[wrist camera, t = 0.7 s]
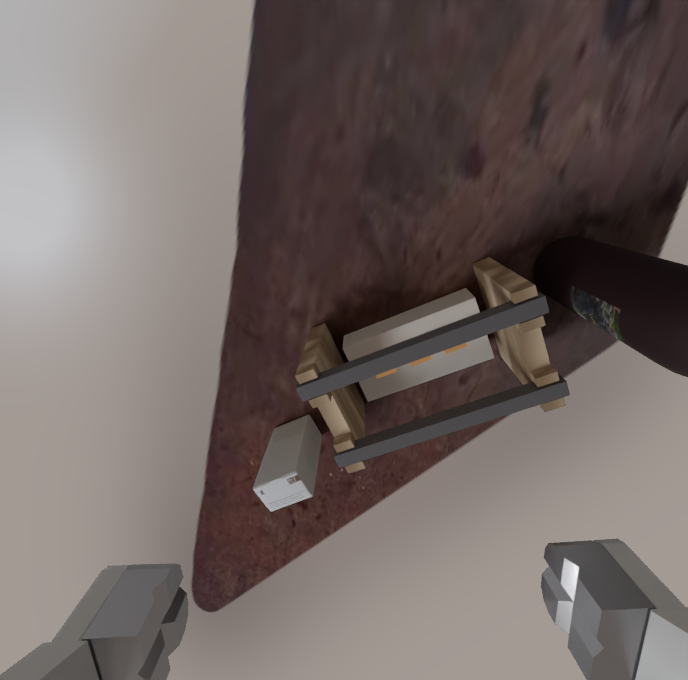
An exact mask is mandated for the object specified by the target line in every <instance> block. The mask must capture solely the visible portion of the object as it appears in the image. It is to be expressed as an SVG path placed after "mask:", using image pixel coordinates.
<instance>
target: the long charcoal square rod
mask: <svg viewBox="0 0 688 680" xmlns="http://www.w3.org/2000/svg"><path fill="white" fill-rule="evenodd" d="M537 294H538V296H535V297H532V298H530V299H527V300H524V301H522V302H519V303H516V304H514V303H513V302H511V301H509V302H506V303H504V304H501V305H498V306H496V307H493V308H490V309H488V310H485V311H482V312H480V313H477V314H474V315H472V316H469V317H466V318H464V319H461V320H458V321H456V322H453V323H450V324H448V325H445V326H442V327H440V328H437V329H434V330H432V331H429V332H426V333H424V334H421V335H418V336H416V337H413V338H410V339H408V340H405V341H402V342H400V343H397V344H395V345H392V346H389V347H387V348H384V349H381V350H379V351H376V352H373V353H371V354H368V355H365V356H363V357H360V358H357V359H355V360H352V361H349V362H347V363H344V364H341V365H339V366H336V367H333V368H331V369H328V370H325V371H323V372H320V373H319V375H318V378H315V379H313V380H310V381H307V382H305V383H302V384H299V382H298V383H297V386H296V390H297V392H298V394H299V396H300V398H301V399H302V401H306V400H309V399H312V398H314V397H317V396H320V395H323V394H325V393H328V392H331V391H334V390H336V389H339V388H342V387H345V386H347V385H350V384H353V383H356V382H358V381H361V380H364V379H367V378H370V377H372V376H375V375H378V374H381V373H383V372H386V371H389V370H392V369H394V368H397V367H400V366H403V365H405V364H408V363H411V362H414V361H416V360H419V359H422V358H425V357H427V356H430V355H433V354H436V353H439V352H441V351H444V350H447V349H450V348H452V347H455V346H458V345H461V344H463V343H466V342H469V341H472V340H474V339H477V338H480V337H483V336H485V335H488V334H491V333H494V332H496V331H499V330H502V329H505V328H508V327H510V326H513V325H516V324H519V323H521V322H524V321H527V320H530V319H532V318H535V317H538V316H541V315H543V314H546V313H549V308H548V304H547V300H546V296H545V295H543V294H542V293H540V292H538V291H537Z"/></svg>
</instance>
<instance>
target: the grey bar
mask: <svg viewBox="0 0 688 680" xmlns="http://www.w3.org/2000/svg"><path fill="white" fill-rule="evenodd" d="M558 376H559V381H556V382H553V383H550V384H547V385H544V386H541V387H537V386H536V384H535V383H534V382H530V383H527V384H524V385H521V386H518V387H515V388H512V389H509V390H506V391H503V392H500V393H497V394H494V395H491V396H488V397H485V398H482V399H479V400H476V401H473V402H470V403H467V404H464V405H461V406H458V407H455V408H452V409H448V410H445V411H442V412H439V413H436V414H433V415H430V416H427V417H424V418H421V419H418V420H415V421H412V422H409V423H406V424H403V425H400V426H397V427H394V428H391V429H388V430H385V431H382V432H379V433H376V434H373V435H370V436H367V437H364V438H361V439H358V440H355V447H354V448H351V449H348V450H345V451H341V452H338V453H337V452H336V450H335V448H334V459H335V461H336V462H337V464H338V466H339V468H341V467H344V466H348V465H351V464H354V463H357V462H360V461H363V460H366V459H370V458H373V457H376V456H379V455H382V454H385V453H389V452H392V451H395V450H398V449H401V448H404V447H407V446H411V445H414V444H417V443H420V442H423V441H426V440H430V439H433V438H436V437H439V436H442V435H445V434H448V433H452V432H455V431H458V430H461V429H464V428H467V427H471V426H474V425H477V424H480V423H483V422H486V421H489V420H493V419H496V418H499V417H502V416H505V415H508V414H512V413H515V412H518V411H521V410H524V409H527V408H530V407H534V406H537V405H540V404H543V403H546V402H549V401H552V400H556V399H559V398H562V397H565V396H568V395H569V390H568V386H567V382H566V380H565V379H564V378H563V377H562V376H560V375H559V374H558Z"/></svg>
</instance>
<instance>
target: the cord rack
mask: <svg viewBox="0 0 688 680" xmlns="http://www.w3.org/2000/svg"><path fill="white" fill-rule="evenodd" d="M472 265H473V268H474V271H475V275H476V278H477V281H478V284H479V287H480V291H481V294H482V297H483V300H484V303H485V307H486V310H488V309H490V308H493V307H496V306H498V305H501V304H504V303H506V302H509V301H511V302H513V303H514V304H516V303H519V302H522V301H524V300H527V299H530V298H532V297H535V296H538V294H537V290H536V286H535V284H533V283H531V282H530V281H528V280H526V279H525V278H523V277H521V276H520V275H518V274H516V273H515V272H513V271H511V270H510V269H508V268H506V267H505V266H503V265H501V264H500V263H498V262H497V261H495V260H493V259H492V258H490V257H488V258H485V259H483V260H480V261H478V262H475V263H473V264H472ZM543 326H546V325H545V321H544V317H543V315H541V316H538V317H535V318H532V319H530V320H527V321H524V322H521V323H519V324H516V325H513V326H510V327H508V328H505V329H502V330H499V331H496V332H494V336H495V339H496V342H497V345H498V348H499V352H500V355H501V357H502V358H503V360H504V361H505V362H506V363H507V365H508V366H509V367H510V369H511V370H512V371H513V372H514V374H515V375H516V376H517V377H518V379H519V380H520V381H521V382H522V384H523V385H524V384H527V383H530V382H534V383H535V384H536V386H537V387H541V386H544V385H547V384H550V383H553V382H556V381H559V376H558V372H557V371H556V370H555V369H554V368H553V367H552V366H551V365H550V362H549V358H548V354H547V350H546V346H545V342H544V338H543V335H542V331H541V327H543ZM341 364H344V361H343V359H342V357H341V355H340V352H339V350H338V348H337V346H336V344H335V342H334V340H333V338H332V336H331V334H330V332H329V330H328V328H327V326H326V324H325V323H324V324H321V325H319V326H316V327H314V328H311V330H310V333H309V336H308V339H307V342H306V345H305V348H304V351H303V354H302V357H301V360H300V363H299V366H298V369H297V372H296V374H295V377H296V379H297V381H298V382H299V384H302V383H305V382H307V381H310V380H313V379H315V378H318V375H319V373H320V372H323V371H325V370H328V369H331V368H333V367H336V366H339V365H341ZM308 401H309V403H310V404H311V406H312V408H315V407H318V409H319V410H320V412H321V414H322V416H323V418H324V420H325V421H326V423H327V425H328V427H329V429H330V431H331V433H332V434H333V436H334V444H333V446H334V448H335V450H336V452H337V453H338V452H341V451H345V450H348V449H351V448H354V447H355V440H358V439H361V438H364V437H365V404H364V402H363V400H362V398H361V396H360V394H359V392H358V390H357V387H356V385H355V383H353V384H350V385H347V386H345V387H342V388H339V389H336V390H334V391H331V392H328V393H325V394H323V395H320V396H317V397H314V398H312V399H309V400H308ZM565 405H566V404H565V400H564V397H562V398H559V399H556V400H552V401H549V402H546V403H543V404H540V406H541V408H542V409H543V410H544V412H547V411H550V410H553V409H556V408H559V407H563V406H565ZM345 468H346V470H347V472H348V473H351V472H355V471H358V470H361V469H364V468H365V460H363V461H360V462H357V463H354V464H351V465H348V466H345Z"/></svg>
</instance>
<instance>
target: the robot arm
mask: <svg viewBox="0 0 688 680" xmlns="http://www.w3.org/2000/svg"><path fill="white" fill-rule="evenodd" d="M544 558H545V560H546V561H547V563H548V565H549V567H548V568H547V569H546V570H545V571H544V572H543V573H542V581H541V588H542V593H543V598H544V602H545V604H546V607H547V610H548V612H549V614H550V616H551V618H552V619H553V621H554V623H555V624H556V625H557V626H558V627H559V628H561V629H562V630H563V631H564V632H566V633H567V634H568V635H569V641H568V648H569V650H570V651H571V653H572V655H573V657H574V658H575V660H576V662H577V663H578V665H579V667H580V669H581V670H582V672H583V674H584V676H585V677H586V679H587V680H688V608H686V607H685V606H684V605H683V604H682V603H681V602H680V601H679V600H678V599H677V598H676V596H675V595H674V594H673V593H672V592H671V591H670V590H669V589H668V588H667V587H666V586H665V585H664V584H663V583H662V582H661V581H660V580H659V579H658V577H657V576H656V575H655V574H654V573H653V572H652V571H651V570H650V569H649V568H648V567H647V566H646V565H645V564H644V563H643V562H642V561H641V560H640V559H639V557H637V555H636V554H635V553H634V552H633V551H632V550H631V549H630V548H629V547H628V546H627V545H626V544H625V543H624V542H622V541H620V540H619V539H606V540H594V541H575V542H560V543H548V545H547V546H546V548H545V554H544ZM182 578H183V574H182V570H181V566H180V565H179V564H143V565H123V566H108V567H107V568H106V569H104V570H103V571H102V572H101V573H100V574H99V575H98V577H97V578H96V580H95V581H94V582H93V584H92V585H91V587H90V588H89V590H88V591H87V592H86V594H85V595H84V597H83V598H82V599H81V601H80V602H79V604H78V605H77V606H76V608H75V609H74V611H73V612H72V614H71V615H70V616H69V618H68V619H67V621H66V622H65V623H64V625H63V626H62V628H61V629H60V630H59V632H58V633H57V635H56V636H55V638H54V639H53V640H52V642H49V643H43V644H41V645H40V646H39V647H37V648H36V649H35V650H33V651H32V652H31V653H29V654H28V655H27V656H25V657H24V658H23V659H21V660H20V661H18V662H17V663H16V664H14V665H13V666H12V667H10V668H9V669H8V670H6V671H5V672H4V673H2V674H1V675H0V680H166V679H167V676H168V674H169V671H170V665H169V660H168V656H169V655H170V654H171V653H172V652H173V651H174V650H175V649H176V648H177V647H178V646H179V645H180V642H181V640H182V637H183V634H184V631H185V627H186V622H187V617H188V599H187V593H186V592H185V591H184V590H182V589H181V588H180V587H179V585H180V583H181V581H182Z"/></svg>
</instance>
